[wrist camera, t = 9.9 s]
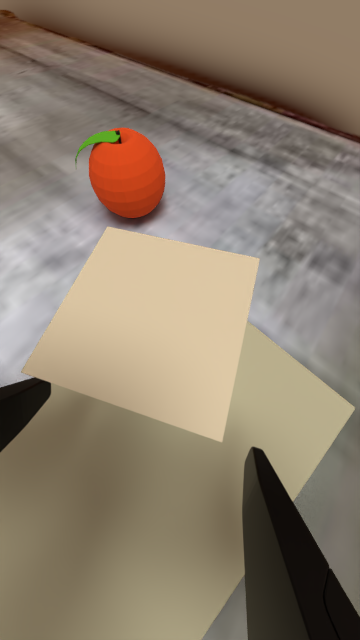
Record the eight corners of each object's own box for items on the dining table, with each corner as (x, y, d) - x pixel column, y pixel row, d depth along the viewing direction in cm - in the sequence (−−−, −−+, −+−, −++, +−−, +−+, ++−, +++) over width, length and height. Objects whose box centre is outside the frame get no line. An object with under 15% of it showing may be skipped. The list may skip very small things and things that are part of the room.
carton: (201, 427, 14) (223, 445, 5) (122, 400, 15) (18, 373, 6) (220, 347, 16) (261, 257, 7) (150, 328, 17) (106, 225, 8)
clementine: (91, 236, 22) (50, 161, 16) (98, 191, 25) (66, 111, 19) (169, 231, 22) (161, 153, 16) (167, 186, 25) (160, 105, 18)
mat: (77, 810, 9) (70, 835, 8) (-58, 474, 14) (-68, 476, 14) (349, 408, 15) (355, 408, 14) (183, 273, 20) (183, 269, 19)
